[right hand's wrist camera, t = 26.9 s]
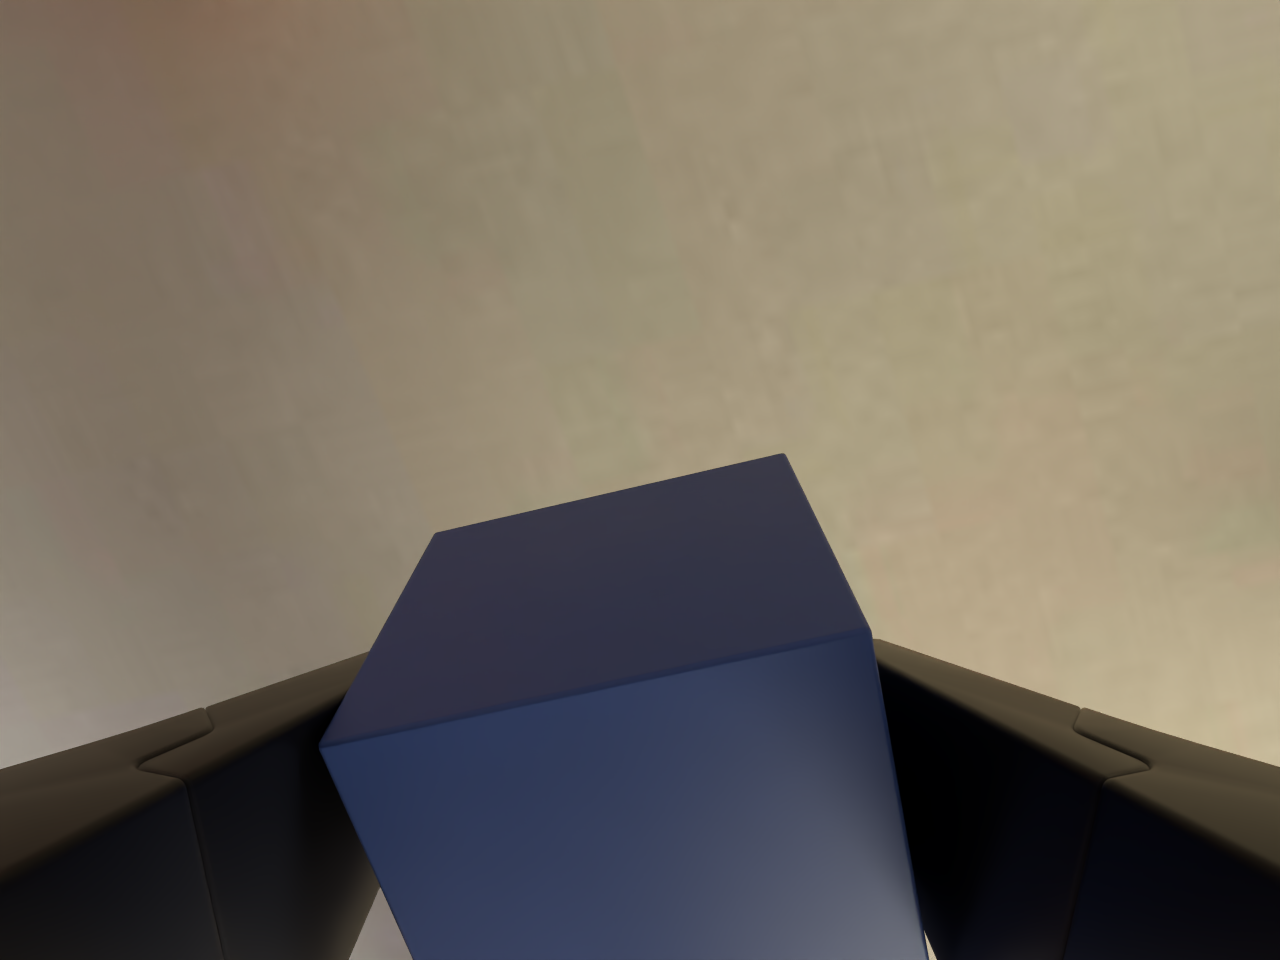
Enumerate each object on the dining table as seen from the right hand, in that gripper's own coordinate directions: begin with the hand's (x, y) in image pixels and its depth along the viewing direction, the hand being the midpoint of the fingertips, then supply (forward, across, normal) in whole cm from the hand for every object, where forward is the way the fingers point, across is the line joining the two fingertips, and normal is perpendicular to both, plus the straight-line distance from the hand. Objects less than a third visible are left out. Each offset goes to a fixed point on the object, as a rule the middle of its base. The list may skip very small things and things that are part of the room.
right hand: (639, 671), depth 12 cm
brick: (+1, 0, 0) cm, 1 cm away
